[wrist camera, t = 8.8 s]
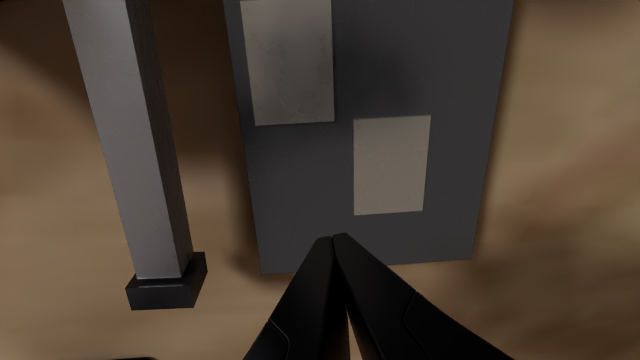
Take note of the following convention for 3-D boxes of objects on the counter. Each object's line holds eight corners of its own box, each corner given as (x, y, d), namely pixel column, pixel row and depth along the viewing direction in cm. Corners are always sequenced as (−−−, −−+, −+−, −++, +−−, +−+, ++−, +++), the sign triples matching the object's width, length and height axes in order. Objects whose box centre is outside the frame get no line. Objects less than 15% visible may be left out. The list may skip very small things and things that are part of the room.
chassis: (455, 239, 21) (473, 261, 19) (265, 253, 20) (261, 277, 18) (498, -69, 14) (531, -88, 12) (223, -60, 14) (210, -77, 12)
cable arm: (219, 241, 19) (193, 307, 14) (173, 242, 19) (131, 310, 14) (172, -98, 13) (99, -180, 8) (103, -100, 13) (-13, -185, 8)
